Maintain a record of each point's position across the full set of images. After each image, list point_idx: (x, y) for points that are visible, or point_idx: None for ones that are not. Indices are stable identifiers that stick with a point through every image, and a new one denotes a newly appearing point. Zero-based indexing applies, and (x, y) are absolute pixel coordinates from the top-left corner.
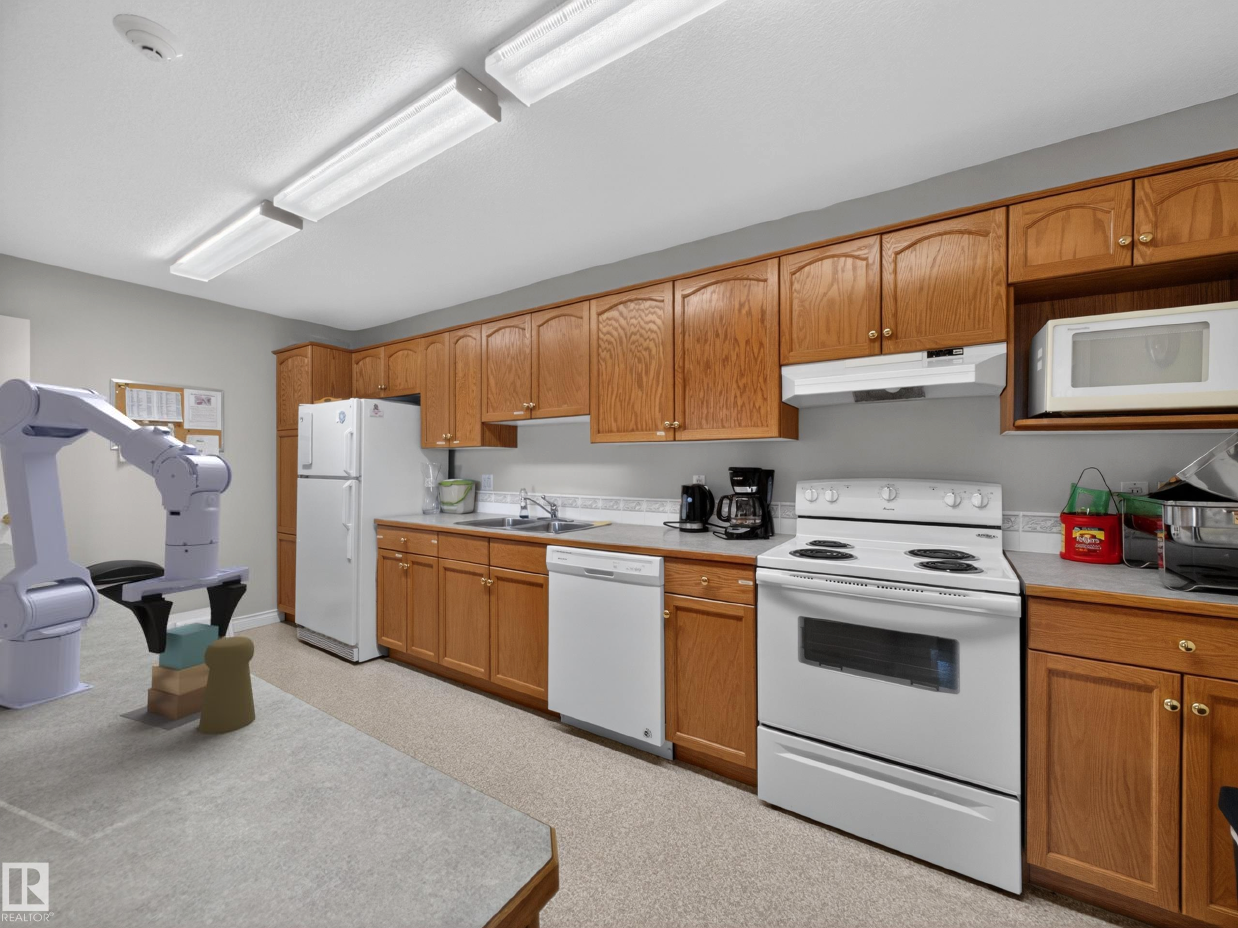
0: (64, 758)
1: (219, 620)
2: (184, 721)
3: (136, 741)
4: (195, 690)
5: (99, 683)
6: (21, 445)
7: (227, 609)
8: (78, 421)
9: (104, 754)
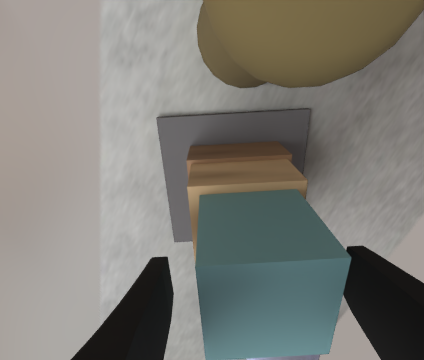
0: (411, 159)
1: (155, 321)
2: (277, 121)
3: (345, 125)
4: (254, 156)
5: None
6: None
7: (125, 352)
8: None
9: (391, 120)
